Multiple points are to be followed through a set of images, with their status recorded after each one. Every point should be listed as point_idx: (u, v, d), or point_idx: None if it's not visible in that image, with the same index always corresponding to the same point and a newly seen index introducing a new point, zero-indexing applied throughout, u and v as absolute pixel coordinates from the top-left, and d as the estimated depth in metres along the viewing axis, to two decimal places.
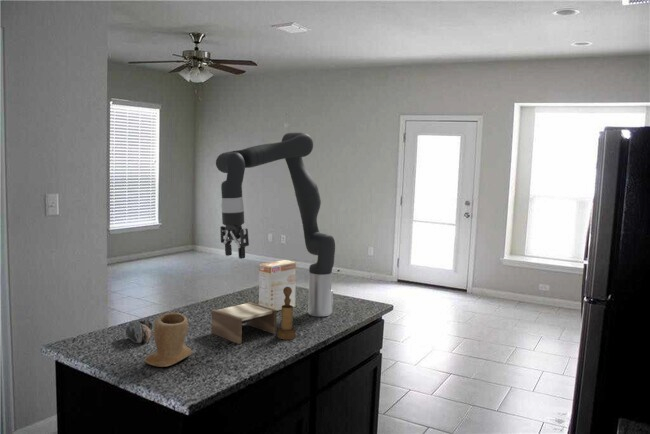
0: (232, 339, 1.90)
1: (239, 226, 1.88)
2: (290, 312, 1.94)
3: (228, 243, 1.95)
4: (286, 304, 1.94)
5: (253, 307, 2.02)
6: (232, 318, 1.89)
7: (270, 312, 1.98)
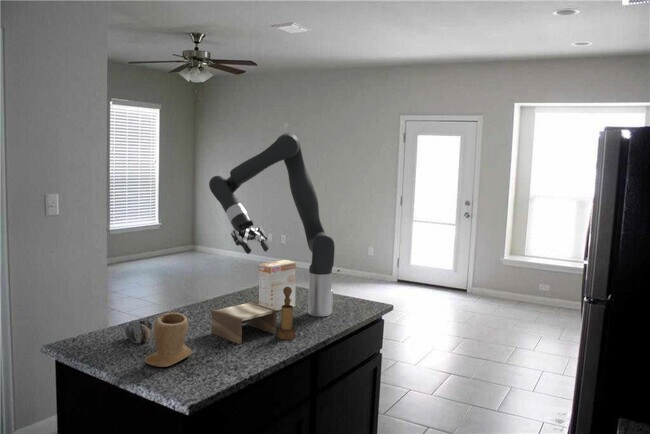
0: (232, 339, 1.90)
1: (237, 229, 2.09)
2: (290, 312, 1.94)
3: (261, 241, 2.12)
4: (286, 304, 1.94)
5: (253, 307, 2.02)
6: (232, 318, 1.89)
7: (270, 312, 1.98)
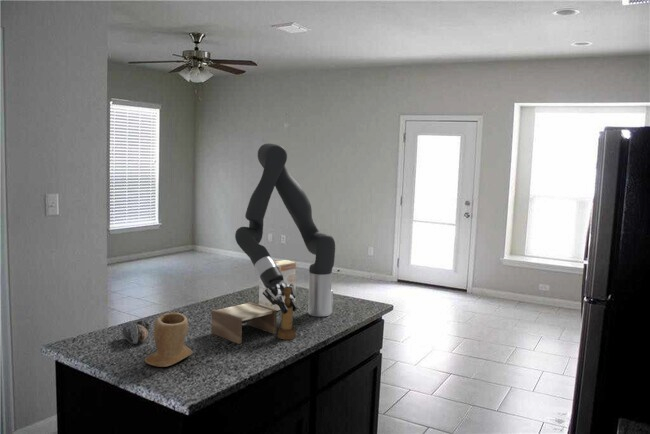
0: (232, 339, 1.90)
1: (267, 285, 1.96)
2: (290, 312, 1.94)
3: None
4: (286, 304, 1.94)
5: (253, 307, 2.02)
6: (232, 318, 1.89)
7: (270, 312, 1.98)
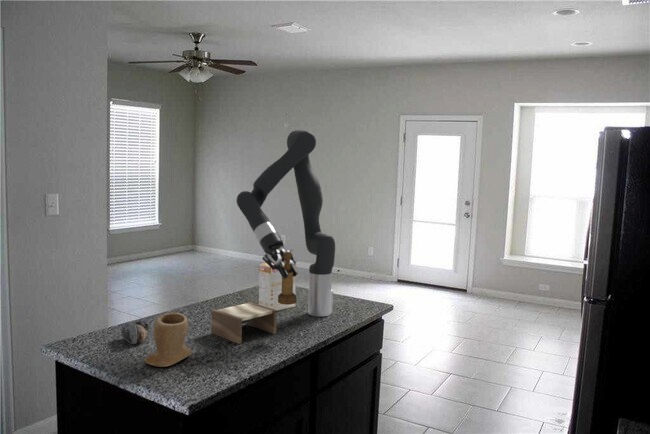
0: (232, 339, 1.90)
1: (267, 250, 1.95)
2: (290, 277, 1.93)
3: None
4: (286, 269, 1.93)
5: (253, 307, 2.02)
6: (232, 318, 1.89)
7: (270, 312, 1.98)
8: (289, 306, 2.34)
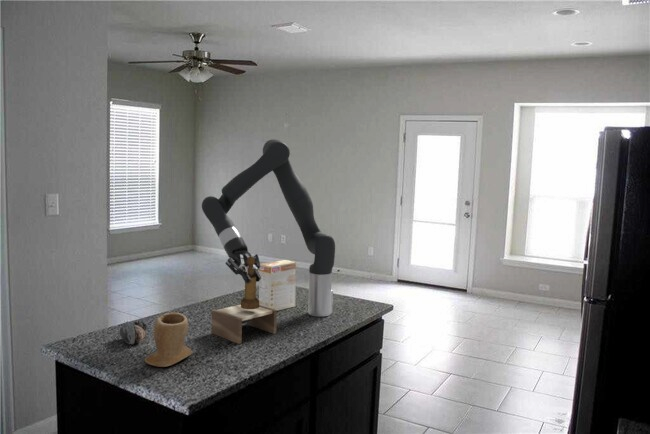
0: (232, 339, 1.90)
1: (230, 255, 1.96)
2: (253, 282, 1.93)
3: None
4: (249, 274, 1.94)
5: None
6: (232, 318, 1.89)
7: (270, 312, 1.98)
8: (289, 306, 2.34)
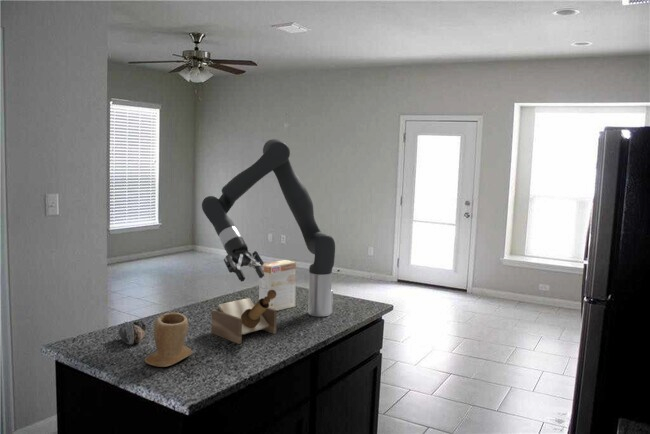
0: (232, 339, 1.90)
1: (230, 254, 1.95)
2: (263, 310, 1.91)
3: (256, 267, 1.99)
4: (264, 302, 1.89)
5: None
6: (232, 318, 1.89)
7: (266, 326, 2.00)
8: (289, 306, 2.34)
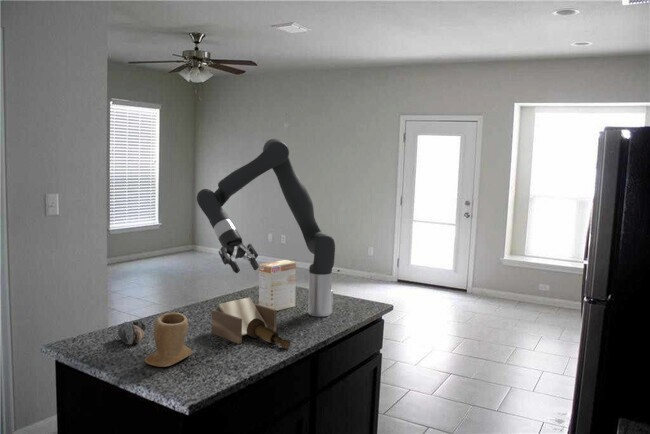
0: (232, 339, 1.90)
1: (225, 247, 1.97)
2: None
3: (251, 259, 2.00)
4: (274, 340, 1.87)
5: (252, 310, 2.03)
6: (232, 318, 1.89)
7: None
8: (289, 306, 2.34)
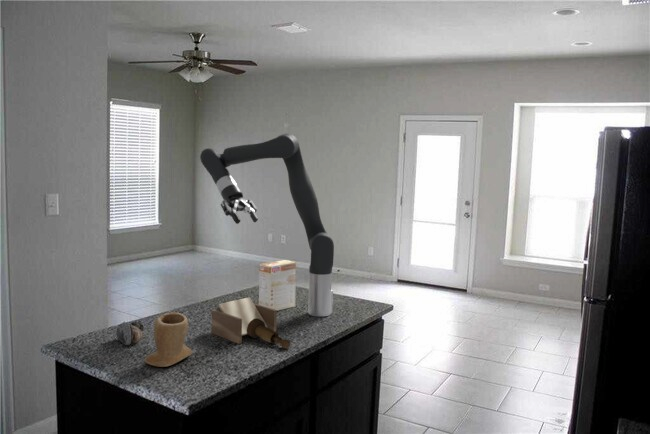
0: (232, 339, 1.90)
1: (227, 200, 2.12)
2: None
3: (251, 212, 2.15)
4: (274, 340, 1.87)
5: (252, 310, 2.03)
6: (232, 318, 1.89)
7: None
8: (289, 306, 2.34)
